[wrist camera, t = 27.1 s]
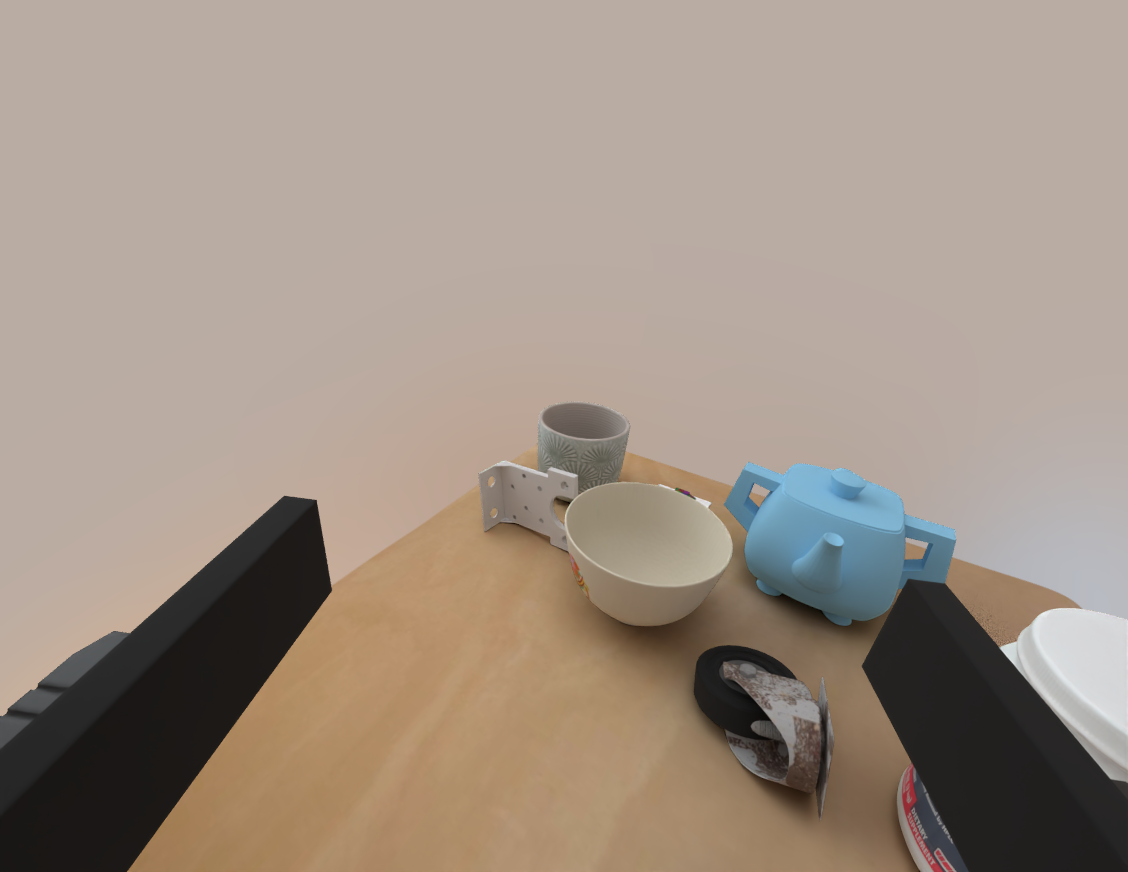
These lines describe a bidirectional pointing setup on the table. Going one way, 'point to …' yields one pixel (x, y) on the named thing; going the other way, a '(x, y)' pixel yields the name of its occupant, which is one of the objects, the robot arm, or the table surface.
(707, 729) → the table surface
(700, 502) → the white tile
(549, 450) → the planter
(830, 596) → the teapot
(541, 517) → the bracket
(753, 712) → the caster wheel
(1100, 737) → the supplement tub
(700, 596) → the bowl
